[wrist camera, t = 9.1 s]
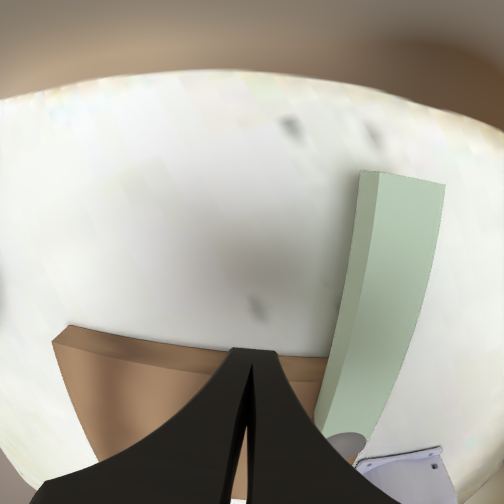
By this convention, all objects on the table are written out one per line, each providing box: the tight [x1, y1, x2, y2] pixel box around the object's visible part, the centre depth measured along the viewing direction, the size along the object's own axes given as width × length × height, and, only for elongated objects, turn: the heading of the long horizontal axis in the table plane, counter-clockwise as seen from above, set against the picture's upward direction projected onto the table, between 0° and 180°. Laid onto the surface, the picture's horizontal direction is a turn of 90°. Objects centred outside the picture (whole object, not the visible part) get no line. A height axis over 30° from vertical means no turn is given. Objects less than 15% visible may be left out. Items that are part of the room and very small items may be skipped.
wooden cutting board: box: [52, 325, 358, 500], centre depth 20 cm, size 22×16×2 cm
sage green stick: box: [312, 170, 445, 459], centre depth 13 cm, size 16×3×2 cm, turn 176°
